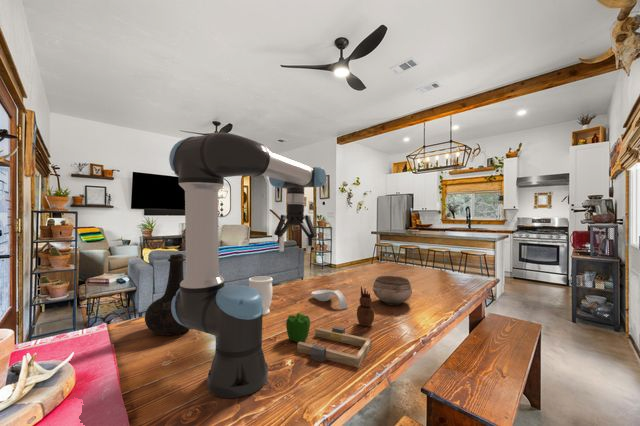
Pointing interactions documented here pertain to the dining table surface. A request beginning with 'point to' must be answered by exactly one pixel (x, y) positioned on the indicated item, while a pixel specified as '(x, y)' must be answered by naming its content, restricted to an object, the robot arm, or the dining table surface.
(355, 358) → the tan wooden u-shaped frame
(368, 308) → the wooden figurine
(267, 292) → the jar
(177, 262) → the glass bottle
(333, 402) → the dining table surface
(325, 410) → the dining table surface
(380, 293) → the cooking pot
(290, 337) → the bell pepper
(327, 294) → the spoon rest
